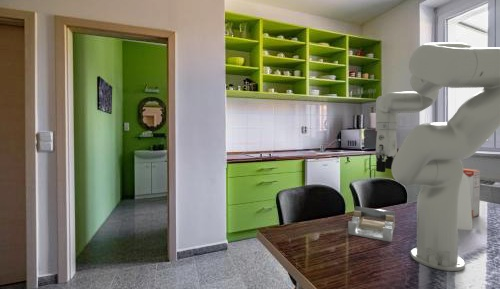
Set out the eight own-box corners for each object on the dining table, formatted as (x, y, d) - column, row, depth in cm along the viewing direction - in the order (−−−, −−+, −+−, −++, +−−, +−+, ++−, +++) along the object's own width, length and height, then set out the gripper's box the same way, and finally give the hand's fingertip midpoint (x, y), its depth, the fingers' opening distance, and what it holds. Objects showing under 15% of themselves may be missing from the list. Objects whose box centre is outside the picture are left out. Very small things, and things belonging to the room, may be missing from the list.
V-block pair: (391, 241, 86) (391, 228, 86) (348, 233, 94) (348, 221, 94) (392, 234, 93) (392, 222, 93) (352, 227, 101) (352, 216, 101)
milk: (435, 227, 100) (436, 161, 99) (425, 218, 111) (425, 159, 110) (472, 230, 96) (473, 162, 96) (457, 220, 107) (458, 159, 106)
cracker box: (437, 209, 124) (438, 167, 123) (445, 208, 126) (445, 166, 126) (472, 217, 111) (473, 170, 110) (480, 215, 114) (480, 169, 113)
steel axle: (393, 223, 96) (393, 212, 96) (354, 217, 104) (354, 207, 104) (394, 220, 100) (394, 210, 100) (356, 214, 107) (356, 205, 107)
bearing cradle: (393, 232, 95) (393, 216, 95) (353, 225, 102) (353, 211, 102) (394, 226, 101) (394, 211, 101) (357, 220, 109) (357, 206, 109)
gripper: (388, 127, 91) (387, 174, 92) (403, 127, 102) (402, 168, 103) (367, 127, 96) (366, 171, 97) (384, 127, 108) (383, 166, 109)
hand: (385, 170), depth 100 cm, fingers open, 9 cm apart
